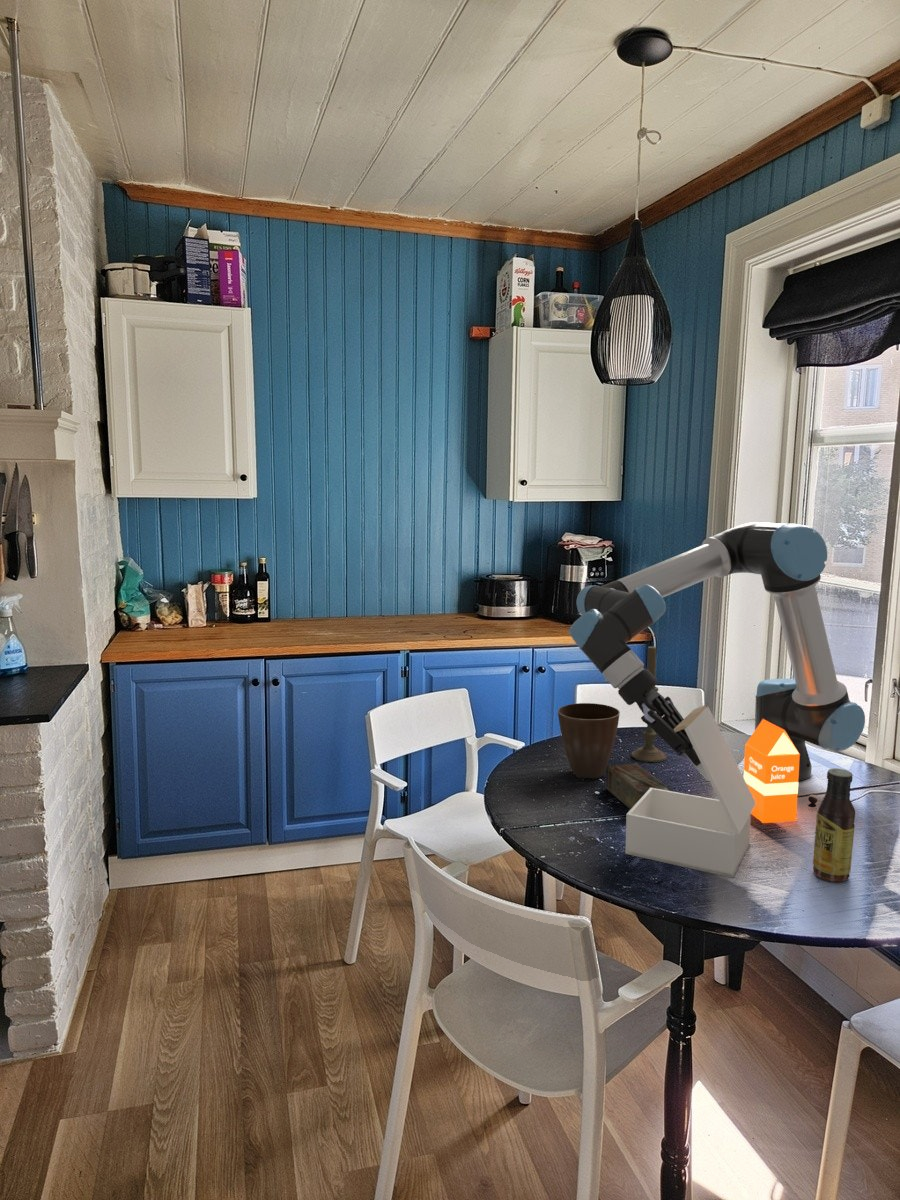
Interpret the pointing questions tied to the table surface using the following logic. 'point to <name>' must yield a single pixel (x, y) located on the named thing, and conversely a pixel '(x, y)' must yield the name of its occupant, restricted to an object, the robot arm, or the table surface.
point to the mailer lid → (719, 765)
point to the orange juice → (772, 773)
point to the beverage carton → (631, 782)
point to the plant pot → (588, 736)
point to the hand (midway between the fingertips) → (713, 775)
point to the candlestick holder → (648, 750)
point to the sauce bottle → (835, 829)
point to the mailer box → (685, 832)
